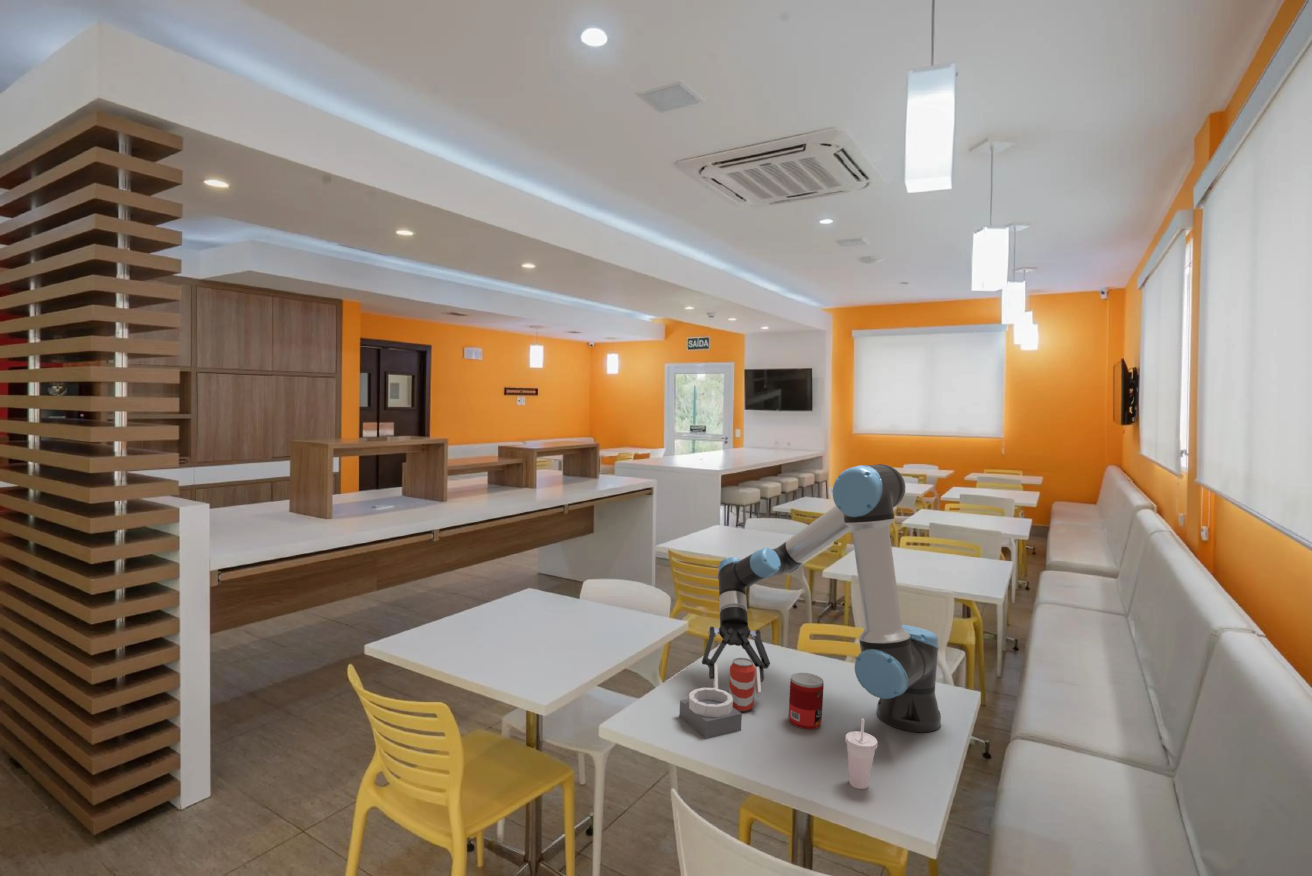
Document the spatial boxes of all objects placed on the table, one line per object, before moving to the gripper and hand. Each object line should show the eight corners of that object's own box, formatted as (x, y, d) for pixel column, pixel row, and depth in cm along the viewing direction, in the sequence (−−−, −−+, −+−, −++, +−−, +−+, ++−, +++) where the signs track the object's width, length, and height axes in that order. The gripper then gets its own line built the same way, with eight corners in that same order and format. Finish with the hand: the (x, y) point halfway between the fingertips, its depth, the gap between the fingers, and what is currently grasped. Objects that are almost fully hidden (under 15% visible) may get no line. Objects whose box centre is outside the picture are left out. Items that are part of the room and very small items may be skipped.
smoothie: (844, 790, 137) (848, 723, 137) (841, 773, 144) (844, 709, 143) (877, 794, 136) (881, 727, 136) (872, 777, 143) (876, 712, 142)
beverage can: (734, 714, 169) (736, 667, 169) (724, 703, 176) (727, 657, 175) (756, 712, 171) (759, 665, 170) (746, 701, 177) (748, 656, 176)
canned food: (822, 731, 162) (824, 686, 161) (788, 727, 164) (790, 682, 163) (820, 717, 170) (823, 674, 169) (788, 713, 171) (790, 670, 171)
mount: (741, 730, 161) (743, 703, 161) (704, 738, 156) (706, 711, 156) (714, 709, 172) (715, 683, 171) (678, 716, 167) (679, 690, 166)
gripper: (771, 620, 189) (778, 700, 174) (690, 615, 188) (690, 695, 173) (777, 608, 183) (785, 690, 169) (693, 602, 182) (694, 684, 168)
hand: (737, 692), depth 171 cm, fingers open, 10 cm apart
